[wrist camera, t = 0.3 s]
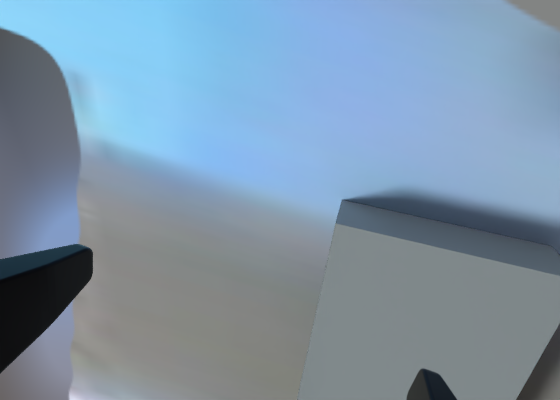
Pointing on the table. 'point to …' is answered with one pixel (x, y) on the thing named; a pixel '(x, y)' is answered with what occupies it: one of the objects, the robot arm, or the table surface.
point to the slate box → (428, 309)
